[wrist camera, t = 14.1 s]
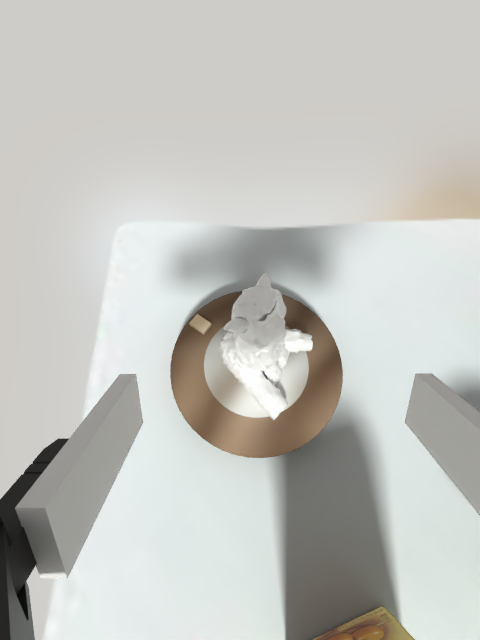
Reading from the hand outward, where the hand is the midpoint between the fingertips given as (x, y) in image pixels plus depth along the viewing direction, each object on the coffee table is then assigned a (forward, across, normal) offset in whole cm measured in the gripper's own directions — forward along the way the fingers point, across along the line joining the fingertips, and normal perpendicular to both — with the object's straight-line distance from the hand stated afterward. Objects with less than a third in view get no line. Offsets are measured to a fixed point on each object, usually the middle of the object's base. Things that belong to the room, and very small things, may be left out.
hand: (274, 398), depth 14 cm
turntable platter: (+16, 0, -7) cm, 18 cm away
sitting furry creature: (+15, 0, -6) cm, 17 cm away
